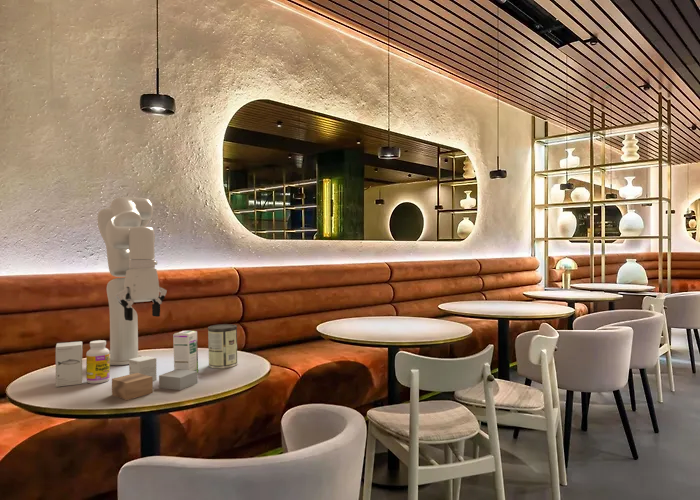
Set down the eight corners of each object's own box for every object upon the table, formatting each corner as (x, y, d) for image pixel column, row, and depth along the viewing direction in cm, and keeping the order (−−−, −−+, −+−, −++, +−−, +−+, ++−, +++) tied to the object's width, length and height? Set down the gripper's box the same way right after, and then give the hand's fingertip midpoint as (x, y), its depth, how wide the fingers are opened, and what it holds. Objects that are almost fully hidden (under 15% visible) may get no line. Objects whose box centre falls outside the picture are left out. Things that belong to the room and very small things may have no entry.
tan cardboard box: (112, 395, 142) (111, 378, 142) (137, 389, 149) (137, 372, 149) (126, 400, 138) (126, 383, 138) (152, 393, 144) (152, 376, 144)
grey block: (159, 388, 150) (159, 375, 150) (177, 381, 157) (176, 369, 157) (180, 391, 147) (180, 377, 147) (197, 383, 154) (197, 371, 154)
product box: (128, 381, 156) (128, 359, 156) (146, 377, 161) (145, 355, 161) (140, 384, 153) (139, 361, 153) (157, 380, 158) (156, 357, 158)
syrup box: (189, 377, 160) (189, 333, 160) (173, 376, 162) (172, 333, 162) (198, 373, 166) (198, 330, 166) (182, 372, 167) (182, 330, 167)
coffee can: (216, 361, 183) (215, 323, 183) (241, 362, 181) (241, 324, 181) (203, 368, 173) (202, 328, 173) (230, 369, 171) (229, 329, 171)
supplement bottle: (94, 385, 153) (93, 344, 152) (82, 382, 156) (81, 342, 156) (114, 380, 158) (113, 340, 158) (102, 377, 162) (101, 338, 162)
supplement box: (55, 387, 151) (54, 346, 150) (56, 381, 157) (56, 342, 157) (82, 384, 154) (81, 344, 154) (83, 378, 161) (82, 340, 160)
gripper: (158, 263, 166) (159, 314, 166) (109, 265, 152) (110, 320, 152) (172, 264, 162) (173, 315, 162) (123, 266, 148) (124, 322, 148)
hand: (142, 318), depth 157 cm, fingers open, 9 cm apart
